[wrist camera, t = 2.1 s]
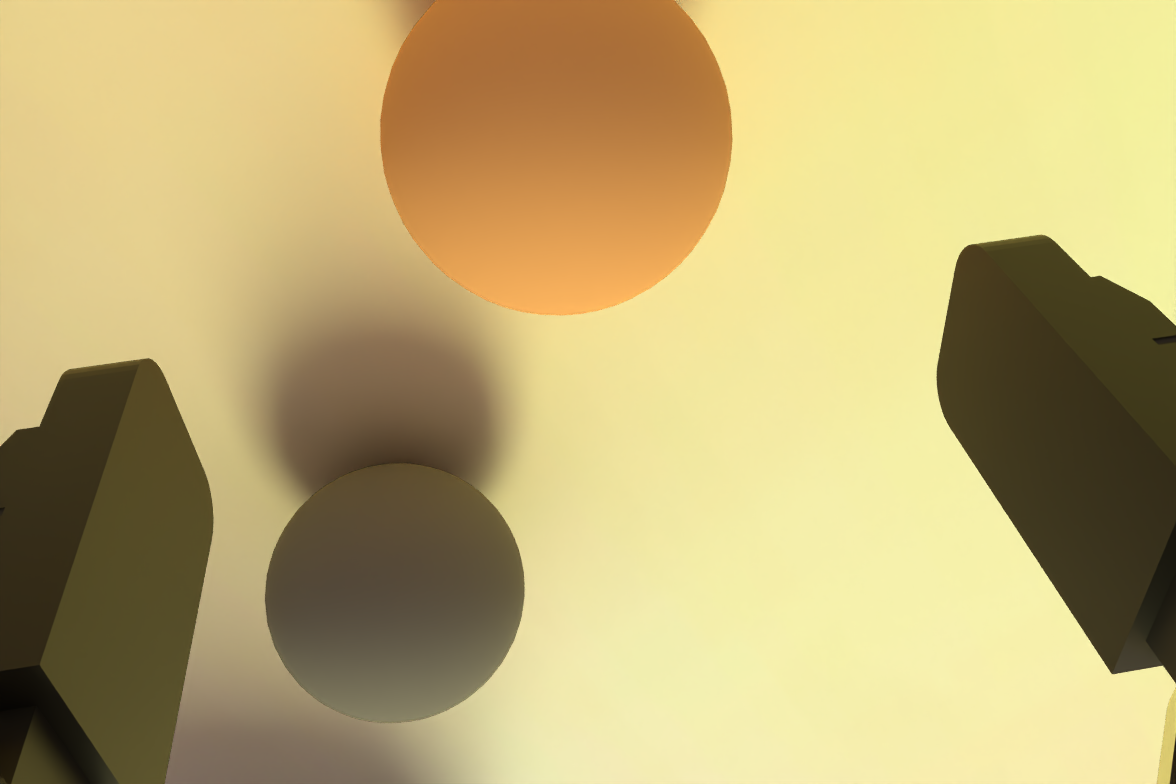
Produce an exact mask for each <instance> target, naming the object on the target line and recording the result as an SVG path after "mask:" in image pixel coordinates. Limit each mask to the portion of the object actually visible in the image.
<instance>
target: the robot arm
mask: <svg viewBox="0 0 1176 784" xmlns="http://www.w3.org/2000/svg"><path fill="white" fill-rule="evenodd" d="M937 390H938V396H939V401H940V405H941V409H942V412H943V414H944V417H945V419H946V421H947V423H948V425H949V427H950V428H951V430H952V431H953V433H954V434H955V436H956V438H957V439H958V441H959V442H960V444H961V445H962V447H963V448H964V450H965V451H966V453H967V454H968V456H969V457H970V459H971V460H972V462H973V463H974V465H975V466H976V468H977V469H978V471H979V473H980V474H981V476H982V477H983V479H984V480H985V482H986V483H987V485H988V486H989V488H990V489H991V491H992V492H993V494H994V495H995V497H996V498H997V500H998V501H999V503H1000V504H1001V506H1002V508H1003V509H1004V511H1005V512H1006V514H1007V515H1008V517H1009V518H1010V520H1011V521H1012V523H1013V524H1014V526H1015V527H1016V529H1017V530H1018V532H1019V533H1020V535H1021V536H1022V538H1023V540H1024V541H1025V543H1026V544H1027V546H1028V547H1029V549H1030V550H1031V552H1032V553H1033V555H1034V556H1035V558H1036V559H1037V561H1038V562H1039V564H1040V565H1041V567H1042V568H1043V570H1044V571H1045V573H1046V575H1047V576H1048V578H1049V579H1050V581H1051V582H1052V584H1053V585H1054V587H1055V588H1056V590H1057V591H1058V593H1059V594H1060V596H1061V597H1062V599H1063V600H1064V602H1065V603H1066V605H1067V606H1068V608H1069V610H1070V611H1071V613H1072V614H1073V616H1074V617H1075V619H1076V620H1077V622H1078V623H1079V625H1080V626H1081V628H1082V629H1083V631H1084V632H1085V634H1086V635H1087V637H1088V638H1089V640H1090V641H1091V643H1092V645H1093V646H1094V648H1095V649H1096V651H1097V652H1098V654H1099V655H1100V657H1101V658H1102V660H1103V661H1104V663H1105V664H1106V666H1107V667H1108V669H1109V670H1110V672H1111V673H1112V674H1117V673H1122V672H1128V671H1134V670H1140V669H1146V668H1151V667H1157V666H1164V667H1165V669H1166V670H1167V672H1168V673H1169V674H1170V676H1171V677H1172V679H1173V680H1174V681H1175V683H1176V326H1175V325H1174V324H1173V323H1172V322H1171V321H1170V320H1169V319H1168V318H1167V317H1166V316H1165V315H1164V314H1163V313H1162V312H1161V311H1160V310H1159V309H1158V308H1156V307H1155V306H1154V305H1153V304H1152V303H1151V302H1150V301H1148V300H1146V299H1145V298H1143V297H1141V296H1139V295H1137V294H1135V293H1133V292H1131V291H1129V290H1127V289H1125V288H1123V287H1121V286H1119V285H1117V284H1115V283H1113V282H1111V281H1109V280H1108V279H1106V278H1104V277H1102V276H1096V277H1090V276H1089V275H1088V274H1087V273H1086V272H1085V271H1084V270H1083V269H1082V268H1081V267H1080V266H1079V265H1078V264H1077V263H1076V262H1075V261H1074V260H1073V259H1072V258H1071V257H1070V256H1069V255H1068V254H1067V253H1066V252H1065V251H1064V250H1063V249H1062V248H1061V247H1060V246H1059V245H1058V244H1057V243H1056V242H1055V241H1053V240H1052V239H1051V238H1049V237H1047V236H1045V235H1036V236H1029V237H1022V238H1015V239H1008V240H1001V241H994V242H986V243H979V244H972V245H968V246H967V247H965V248H964V249H963V250H962V252H961V253H960V255H959V257H958V260H957V263H956V267H955V272H954V278H953V283H952V288H951V294H950V299H949V305H948V310H947V316H946V321H945V327H944V332H943V338H942V343H941V349H940V354H939V360H938V366H937ZM212 534H213V506H212V499H211V493H210V488H209V484H208V480H207V477H206V474H205V472H204V469H203V467H202V464H201V462H200V460H199V457H198V455H197V453H196V450H195V448H194V445H193V443H192V441H191V438H190V436H189V433H188V431H187V429H186V426H185V424H184V422H183V419H182V417H181V414H180V412H179V410H178V407H177V405H176V403H175V400H174V398H173V395H172V393H171V391H170V388H169V386H168V384H167V381H166V379H165V377H164V375H163V373H162V371H161V369H160V368H159V366H158V365H157V364H156V363H155V362H154V361H153V360H151V359H149V358H148V359H140V360H133V361H126V362H118V363H111V364H104V365H97V366H90V367H83V368H76V369H69V370H67V371H65V372H64V373H63V375H62V376H61V378H60V380H59V382H58V384H57V387H56V389H55V391H54V394H53V396H52V398H51V401H50V403H49V405H48V408H47V410H46V412H45V415H44V417H43V419H42V422H41V424H40V427H34V428H27V429H20V430H16V431H15V432H14V433H13V434H12V435H11V436H10V437H9V438H8V439H7V440H6V441H5V442H4V443H3V444H2V445H1V446H0V784H164V783H165V778H166V773H167V767H168V762H169V757H170V752H171V747H172V742H173V736H174V731H175V726H176V721H177V716H178V711H179V705H180V700H181V695H182V690H183V685H184V680H185V675H186V669H187V664H188V659H189V654H190V649H191V644H192V638H193V633H194V628H195V623H196V618H197V613H198V608H199V602H200V597H201V592H202V587H203V582H204V577H205V571H206V566H207V561H208V556H209V551H210V546H211V541H212ZM1157 784H1176V688H1175V690H1174V692H1173V694H1172V696H1171V698H1170V700H1169V703H1168V707H1167V712H1166V719H1165V726H1164V733H1163V741H1162V748H1161V755H1160V763H1159V770H1158V777H1157Z"/></svg>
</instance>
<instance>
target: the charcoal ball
mask: <svg viewBox="0 0 1176 784" xmlns="http://www.w3.org/2000/svg"><path fill="white" fill-rule="evenodd" d="M523 603H524V571H523V566H522V561H521V557H520V553H519V549H518V547H517V544H516V541H515V539H514V537H513V534H512V532H511V530H510V528H509V526H508V525H507V523H506V522H505V520H504V518H503V517H502V516H501V514H500V513H499V511H498V510H497V509H496V508H495V507H494V505H493V504H492V503H491V502H490V501H489V500H488V499H487V498H486V497H485V496H484V495H483V494H482V493H481V492H479V491H478V490H477V489H475V488H474V487H473V486H471V485H470V484H468V483H467V482H465V481H463V480H462V479H460V478H458V477H456V476H454V475H452V474H450V473H448V472H445V471H442V470H439V469H436V468H433V467H428V466H423V465H418V464H408V463H391V464H381V465H376V466H371V467H366V468H363V469H359V470H356V471H353V472H351V473H348V474H346V475H343V476H342V477H340V478H338V479H336V480H334V481H333V482H331V483H329V484H328V485H326V486H324V487H323V488H322V489H320V490H319V491H318V492H316V493H315V494H314V495H313V496H312V497H311V498H310V499H309V500H308V501H307V502H305V503H304V504H303V505H302V506H301V507H300V508H299V509H298V511H297V512H296V513H295V515H294V516H293V517H292V518H291V520H290V521H289V523H288V524H287V526H286V527H285V528H284V530H283V532H282V534H281V536H280V538H279V540H278V542H277V544H276V547H275V549H274V551H273V554H272V558H271V561H270V565H269V569H268V573H267V580H266V591H265V604H266V614H267V623H268V627H269V630H270V633H271V637H272V640H273V643H274V646H275V648H276V650H277V652H278V654H279V656H280V658H281V660H282V662H283V663H284V665H285V667H286V668H287V670H288V671H289V672H290V673H291V675H292V676H293V677H294V678H295V680H296V681H297V682H298V683H299V685H300V686H301V687H303V688H304V689H305V690H306V691H307V692H308V693H309V694H311V695H312V696H313V697H314V698H315V699H317V700H318V701H320V702H321V703H323V704H324V705H326V706H328V707H330V708H332V709H334V710H336V711H338V712H340V713H342V714H345V715H347V716H350V717H353V718H357V719H360V720H365V721H371V722H381V723H399V722H409V721H415V720H420V719H424V718H428V717H431V716H434V715H437V714H439V713H442V712H444V711H446V710H448V709H450V708H452V707H454V706H456V705H457V704H459V703H461V702H462V701H464V700H466V699H467V698H468V697H469V696H471V695H472V694H473V693H475V692H476V691H477V690H478V689H479V688H480V687H482V686H483V685H484V684H485V683H486V682H487V681H488V680H489V679H490V677H491V676H492V675H493V673H494V672H495V671H496V670H497V668H498V667H499V666H500V664H501V663H502V662H503V660H504V658H505V656H506V655H507V653H508V651H509V649H510V647H511V645H512V643H513V641H514V639H515V636H516V633H517V630H518V627H519V624H520V621H521V616H522V610H523Z"/></svg>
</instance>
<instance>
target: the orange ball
mask: <svg viewBox="0 0 1176 784" xmlns="http://www.w3.org/2000/svg"><path fill="white" fill-rule="evenodd" d="M731 150H732V124H731V111H730V105H729V99H728V94H727V89H726V86H725V83H724V80H723V77H722V74H721V71H720V68H719V66H718V63H717V61H716V58H715V56H714V54H713V52H712V51H711V49H710V47H709V45H708V43H707V41H706V39H705V37H704V36H703V35H702V33H701V32H700V30H699V29H698V28H697V26H696V25H695V23H694V22H693V21H692V19H691V18H690V17H689V16H688V15H687V14H686V13H685V12H684V10H683V9H682V8H681V7H680V6H679V5H678V4H677V3H676V2H675V1H674V0H437V1H436V2H434V3H433V4H432V5H431V7H430V8H429V9H428V10H427V11H426V13H425V14H424V15H423V16H422V17H421V18H420V20H419V21H418V22H417V23H416V25H415V26H414V27H413V29H412V30H411V32H410V34H409V35H408V37H407V38H406V40H405V41H404V43H403V45H402V46H401V48H400V51H399V53H398V55H397V57H396V60H395V62H394V64H393V66H392V69H391V73H390V76H389V80H388V83H387V86H386V90H385V94H384V98H383V106H382V113H381V153H382V160H383V167H384V173H385V177H386V180H387V184H388V187H389V190H390V194H391V196H392V199H393V201H394V204H395V206H396V208H397V210H398V213H399V215H400V217H401V219H402V222H403V223H404V225H405V226H406V228H407V230H408V231H409V233H410V234H411V236H412V238H413V239H414V241H415V242H416V243H417V244H418V245H419V247H420V248H421V249H422V250H423V252H424V253H425V254H426V255H427V256H428V258H429V259H430V260H431V261H432V262H433V263H434V264H435V265H436V266H437V267H438V268H439V269H440V270H441V271H442V272H444V273H445V274H446V275H447V276H448V277H450V278H451V279H452V280H454V281H455V282H457V283H458V284H459V285H461V286H462V287H464V288H465V289H467V290H469V291H470V292H472V293H474V294H476V295H478V296H480V297H481V298H483V299H485V300H487V301H490V302H492V303H495V304H497V305H500V306H502V307H506V308H509V309H513V310H517V311H521V312H526V313H533V314H540V315H573V314H583V313H588V312H593V311H598V310H602V309H605V308H608V307H612V306H615V305H617V304H620V303H622V302H624V301H627V300H629V299H631V298H633V297H635V296H637V295H639V294H641V293H642V292H644V291H646V290H648V289H649V288H651V287H653V286H654V285H655V284H657V283H658V282H659V281H661V280H662V279H664V278H665V277H666V276H668V275H669V274H670V273H671V272H672V271H673V270H674V269H675V268H676V267H677V266H679V265H680V264H681V263H682V261H683V260H684V259H685V258H686V257H687V256H688V255H689V254H690V252H691V251H692V250H693V249H694V247H695V246H696V244H697V243H698V242H699V240H700V239H701V237H702V236H703V234H704V233H705V231H706V229H707V228H708V226H709V224H710V222H711V220H712V218H713V216H714V214H715V212H716V211H717V208H718V206H719V203H720V200H721V197H722V195H723V192H724V188H725V184H726V180H727V175H728V171H729V166H730V161H731Z"/></svg>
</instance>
